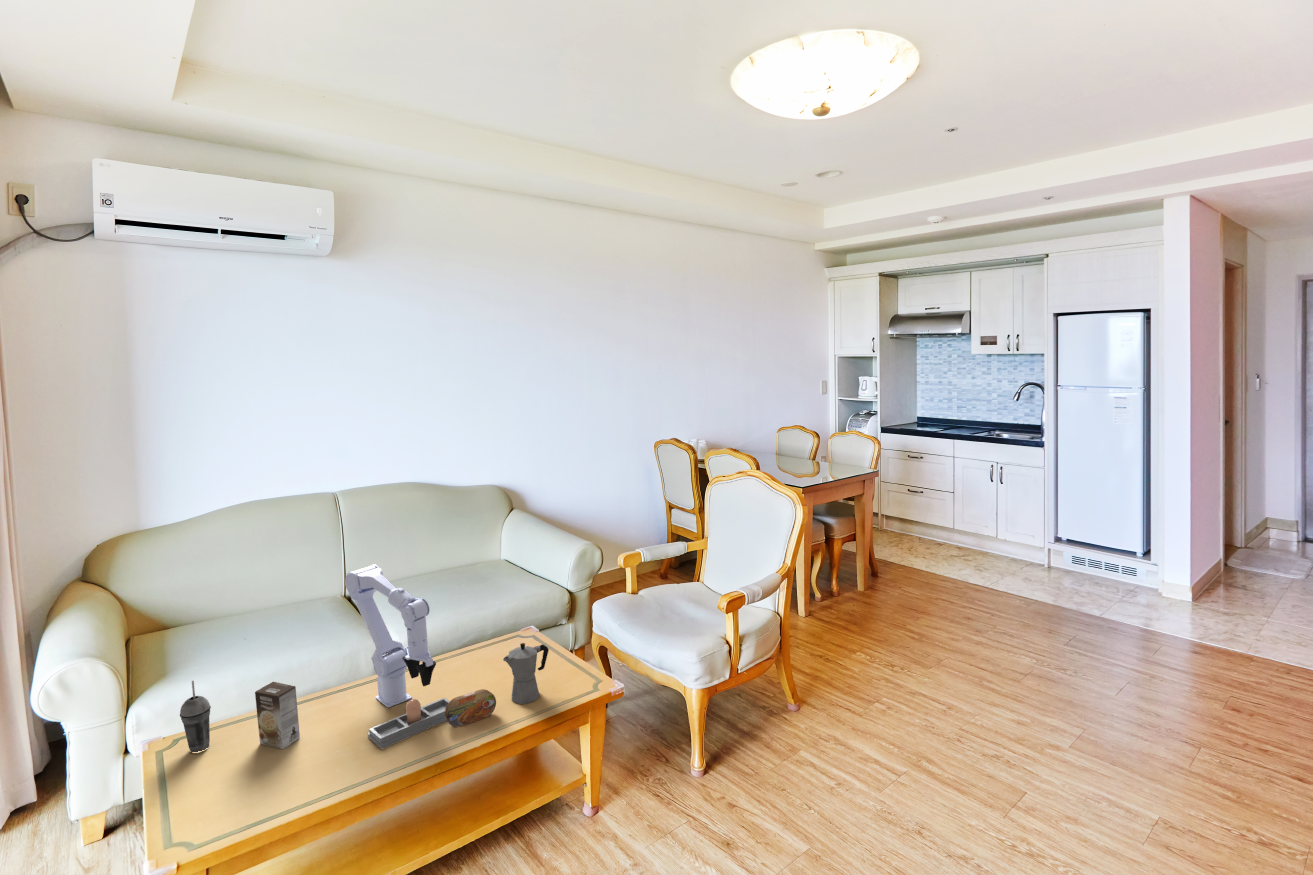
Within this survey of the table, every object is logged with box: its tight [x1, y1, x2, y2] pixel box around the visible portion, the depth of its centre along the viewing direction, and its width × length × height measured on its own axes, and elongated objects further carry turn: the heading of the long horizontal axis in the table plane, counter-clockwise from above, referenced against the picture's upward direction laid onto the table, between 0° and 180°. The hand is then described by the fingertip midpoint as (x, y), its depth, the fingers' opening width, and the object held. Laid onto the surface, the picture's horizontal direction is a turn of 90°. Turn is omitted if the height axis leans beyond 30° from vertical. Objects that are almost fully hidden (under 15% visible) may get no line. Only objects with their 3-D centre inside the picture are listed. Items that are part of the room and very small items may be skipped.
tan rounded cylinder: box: [405, 698, 422, 725], centre depth 197 cm, size 4×4×7 cm
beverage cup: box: [179, 680, 212, 752], centre depth 188 cm, size 7×7×20 cm
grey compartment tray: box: [367, 697, 451, 750], centre depth 198 cm, size 9×24×3 cm, turn 136°
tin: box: [445, 688, 497, 728], centre depth 200 cm, size 15×3×8 cm, turn 123°
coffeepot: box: [503, 642, 550, 705], centre depth 213 cm, size 15×9×18 cm, turn 125°
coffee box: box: [254, 681, 301, 750], centre depth 191 cm, size 9×6×16 cm
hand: (420, 680), depth 206 cm, fingers open, 7 cm apart
